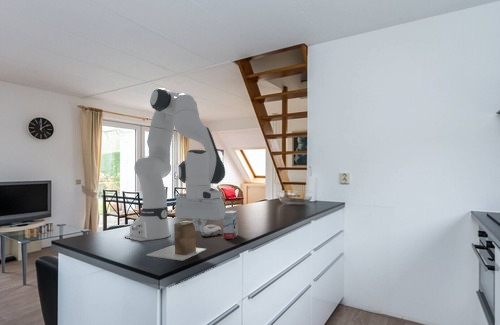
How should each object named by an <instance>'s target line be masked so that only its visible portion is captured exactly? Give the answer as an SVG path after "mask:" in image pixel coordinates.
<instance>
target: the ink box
mask: <svg viewBox="0 0 500 325" xmlns="http://www.w3.org/2000/svg"><path fill="white" fill-rule="evenodd" d="M222 222H223V224H222V225H223V226H222V227H223V228H222V230H223V239H224V240H234V239H235V238H236V237H238V235H239V230H238V226H239V225H238V211H237V210H225V216H224V218H223V219H222Z"/></svg>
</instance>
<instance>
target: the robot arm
mask: <svg viewBox="0 0 500 325" xmlns="http://www.w3.org/2000/svg"><path fill="white" fill-rule="evenodd" d="M149 103H150V106H151V108H152V109H154V113H153V116H152V119H151V120H150V125H149V131H148V135H147V141H146V144H147V148H148V155H146V156H142V157H140V158H138V159H137V160H136V162H135V163H134V172H135V174H136V176H137V177H138V179H139V183H140V187H141V192H142V208H141V209H140V210H138V213H140V214H139V216H138V218H136V219H135V220H134V221H133V222H132V223H131V224H130V226H129V233H127V234H124V238H125V237H126V239H129V238H130V239H129V240H135V241H140V242H144V241H150V240H151V241H152V240H153V241H154V240H158V239H159V240H160V239H165V238H168V237H170V236H171V235H172V234H171V231H170V226H169V219H168V212H169V211H168V210H169V209H168V204H167V199H168V198H167V189H166V188H165V185H164V181H163V179H164V178H166V177H167V176H168V175H169V174H171V170H172V164H171V144H172V141H173V140H172V139H173V134H174V128H175V131H176V132H177V133H178V134H179V135H180V136H182V137H183V138H187V139H190V140H192V141H195V142H197V143H200V144H201V145H202V147H204V150H203V149H190V150H187V151H186V158H185V160H183V161H182V162H180V163H179V164H178V179H179V180H180V182H182V183H183V184H185V191H186V192H185V193H183V192H182V193H181V192H180V193H178V194H177V196H176V197H175V206H174V208H175V209H174V215H175V218H177V219H189V220H191V221H192V222H193V224H194V226H195V232H202V231H204V226H206V225H207V223H208V220H211V221H213V220H214V221H220V220H223V218H224V216H225V212H226V208H225V202H224V200H223V199H222V197H223V192H222V191H221V190H218V189H216V188H213V187H211V185H214V184H215V185H217V184H219V183H221V182H222V181H223V180H224V179H225V177H226V169H225V165H224V163H223V161H222V159H221V157H220V154H219V151H218V148H217V146H216V143H215V140H214V138H213V135H212V133H211V130H210V129H209V127H208V126H206V125H205V124H204V123H203V122H202V119H201V118H200V113H199V110H198V109H199V108H198V105H197V101H196V100H195V98H194V97H193V96H192V95H191V94H187V93H179V92H176V91H173V90H172V91H171V90H168V89H166V88H164V87H163V88H160V87H158V88H156V89H155V90H153V91H152V93H151V96H150V100H149ZM199 221H200V224H199Z"/></svg>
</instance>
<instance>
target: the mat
mask: <svg viewBox="0 0 500 325" xmlns="http://www.w3.org/2000/svg"><path fill="white" fill-rule="evenodd" d="M204 251H207V248H203V247H202V248H201V247H196V251H195V252H193V253H190V254H188V255H178V254H175V244H174V245H173V244H172V245H169V246H166V247H164V248H161V249H159V250H158V249H157V250H155V251H152V252H150V253H147V254H146V256H147V257H152V258H153V257H154V258H160V259H168V260H176V261H182V262H183V261H185V260H188V259H190V258H191V257H194V256H196V255H198V254H200V253H203V252H204Z"/></svg>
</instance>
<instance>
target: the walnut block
mask: <svg viewBox="0 0 500 325" xmlns="http://www.w3.org/2000/svg"><path fill="white" fill-rule="evenodd" d="M173 227H174V228H173V229H174V245H175V254H178V255H188V254H190V253H193V252H195V251H196V248H197V245H196V244H197V242H196V240H197V239H196V238H197V237H196V231H195V226H194V224H193V222H192V220H183V221H180V222H175V223H174V226H173Z"/></svg>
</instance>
